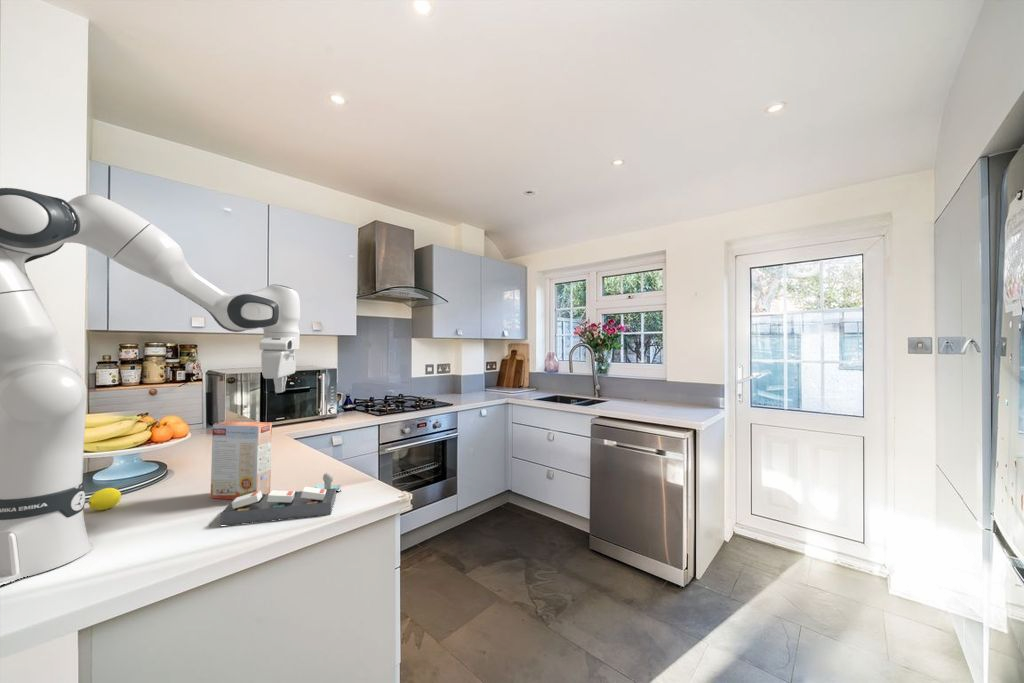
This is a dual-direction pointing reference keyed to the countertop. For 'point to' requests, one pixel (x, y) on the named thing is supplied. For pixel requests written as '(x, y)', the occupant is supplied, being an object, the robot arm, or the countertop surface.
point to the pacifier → (328, 483)
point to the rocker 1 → (247, 499)
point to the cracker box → (240, 459)
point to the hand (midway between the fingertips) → (279, 392)
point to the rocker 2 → (281, 496)
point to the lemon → (104, 499)
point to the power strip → (278, 509)
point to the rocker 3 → (313, 493)
